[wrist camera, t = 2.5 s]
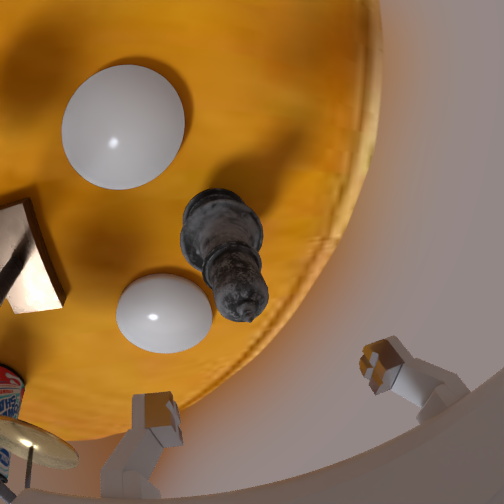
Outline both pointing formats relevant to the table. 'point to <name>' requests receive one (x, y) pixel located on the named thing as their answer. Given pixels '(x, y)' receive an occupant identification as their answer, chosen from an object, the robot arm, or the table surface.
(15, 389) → the beverage can
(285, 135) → the table surface
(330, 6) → the table surface
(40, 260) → the balance
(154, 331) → the dish high side
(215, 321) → the table surface
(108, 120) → the dish low side
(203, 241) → the chess piece
